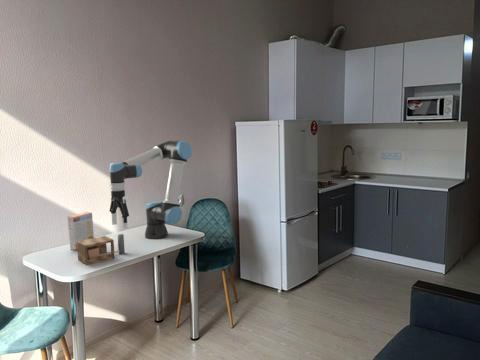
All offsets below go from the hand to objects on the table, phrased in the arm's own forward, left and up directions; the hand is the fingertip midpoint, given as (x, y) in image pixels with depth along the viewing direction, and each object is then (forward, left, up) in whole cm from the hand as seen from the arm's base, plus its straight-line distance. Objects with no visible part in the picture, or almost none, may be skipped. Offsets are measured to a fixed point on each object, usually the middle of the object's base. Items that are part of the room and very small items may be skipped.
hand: (119, 226), depth 243 cm
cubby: (+15, 0, -16) cm, 22 cm away
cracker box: (+12, -29, -16) cm, 35 cm away
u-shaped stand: (+9, 0, -16) cm, 19 cm away
